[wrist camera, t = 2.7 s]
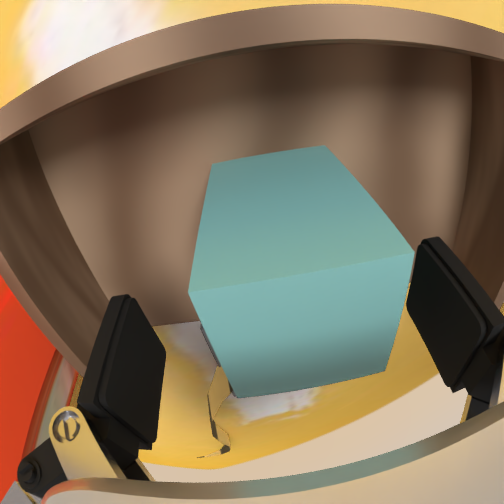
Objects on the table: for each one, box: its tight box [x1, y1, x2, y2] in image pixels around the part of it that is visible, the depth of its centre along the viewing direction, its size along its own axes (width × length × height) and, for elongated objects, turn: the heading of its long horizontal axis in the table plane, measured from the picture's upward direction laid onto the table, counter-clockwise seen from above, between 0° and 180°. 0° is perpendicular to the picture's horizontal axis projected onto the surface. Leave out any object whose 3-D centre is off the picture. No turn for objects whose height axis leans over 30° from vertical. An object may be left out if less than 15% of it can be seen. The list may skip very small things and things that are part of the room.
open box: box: [0, 4, 504, 378], centre depth 12 cm, size 24×15×6 cm, turn 100°
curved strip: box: [197, 365, 234, 458], centre depth 31 cm, size 6×39×4 cm, turn 162°
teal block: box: [188, 145, 415, 398], centre depth 11 cm, size 5×5×8 cm
